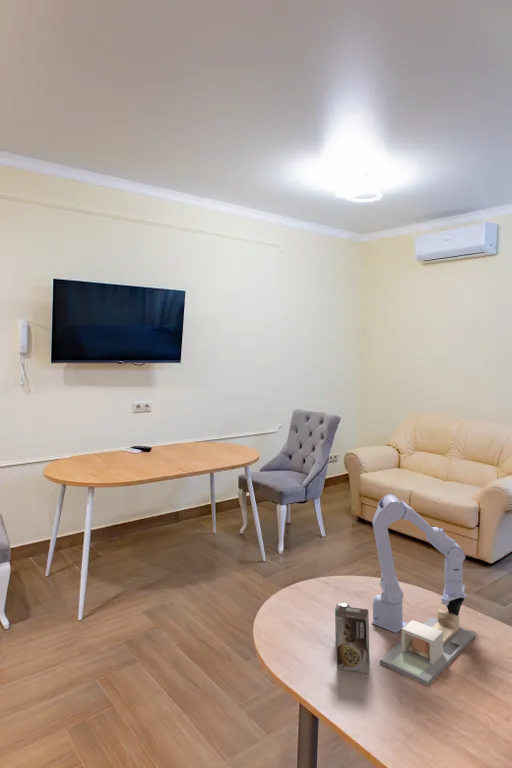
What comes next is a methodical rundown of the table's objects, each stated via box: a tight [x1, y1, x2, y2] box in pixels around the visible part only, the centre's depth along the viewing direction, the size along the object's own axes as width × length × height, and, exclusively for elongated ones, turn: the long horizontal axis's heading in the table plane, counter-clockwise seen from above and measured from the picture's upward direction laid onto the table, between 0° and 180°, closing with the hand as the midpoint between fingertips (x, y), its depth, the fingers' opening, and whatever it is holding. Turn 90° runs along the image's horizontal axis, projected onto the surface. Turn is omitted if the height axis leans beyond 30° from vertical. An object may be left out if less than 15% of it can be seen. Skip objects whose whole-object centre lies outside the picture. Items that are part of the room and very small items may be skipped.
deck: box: [379, 616, 476, 686], centre depth 155 cm, size 15×34×1 cm, turn 135°
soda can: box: [334, 602, 351, 643], centre depth 159 cm, size 5×5×12 cm
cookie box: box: [335, 606, 371, 674], centre depth 147 cm, size 9×6×16 cm
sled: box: [409, 609, 460, 659], centre depth 157 cm, size 6×22×5 cm, turn 135°
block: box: [413, 637, 430, 653], centre depth 151 cm, size 4×4×4 cm
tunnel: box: [401, 619, 443, 664], centre depth 151 cm, size 10×7×7 cm
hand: (453, 618), depth 167 cm, fingers closed
